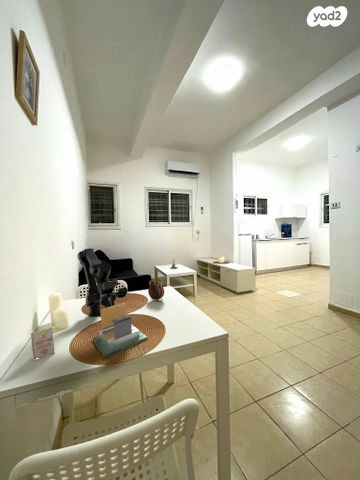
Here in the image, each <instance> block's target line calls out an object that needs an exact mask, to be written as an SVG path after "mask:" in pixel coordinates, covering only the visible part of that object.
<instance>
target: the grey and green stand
mask: <svg viewBox="0 0 360 480" xmlns="http://www.w3.org/2000/svg"><path fill="white" fill-rule="evenodd" d="M112 323H113V324H114V327H111V328H108V329H105V330H102V329H101V330H99V335H97V336H94V337H92V342H93V343H94V344H95V346H96V347H97V349H98V351H99V352H100V354H101V355H102V357H104V359H106V358H108V357H110V356H112V355H115V354H117V353H119V352H121V351H124V350H126V349H128V348H130V347H133V346H134V345H137V344H139V343H142V342H144V341H146V340H148V336H147V335H146V334H144V333H143V332H142V331H140V329H138V328H137V327H135V326H134V325H133V324H132V316H131V315H129V314H126V316H123V317H120V318H117V319H114V320H112Z"/></svg>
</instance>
